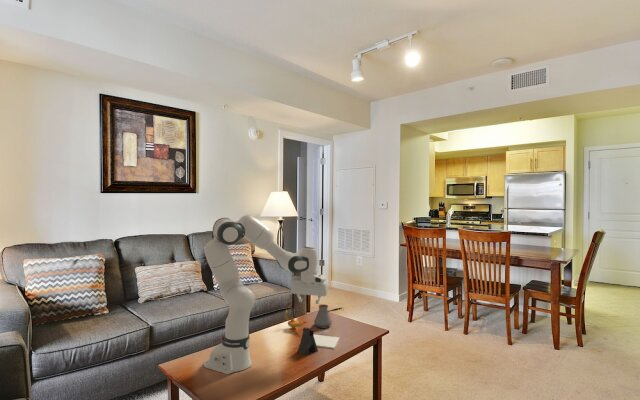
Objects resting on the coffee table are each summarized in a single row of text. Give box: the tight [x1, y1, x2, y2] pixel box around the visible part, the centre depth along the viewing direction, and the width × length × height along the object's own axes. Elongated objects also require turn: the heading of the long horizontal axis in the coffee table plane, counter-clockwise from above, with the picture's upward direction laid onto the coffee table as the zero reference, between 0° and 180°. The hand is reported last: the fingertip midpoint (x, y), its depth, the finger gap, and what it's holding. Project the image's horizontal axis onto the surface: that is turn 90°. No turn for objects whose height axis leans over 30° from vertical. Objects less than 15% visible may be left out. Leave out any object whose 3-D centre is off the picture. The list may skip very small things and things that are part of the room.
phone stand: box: [297, 326, 319, 356], centre depth 179 cm, size 9×6×12 cm, turn 127°
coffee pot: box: [313, 304, 344, 329], centre depth 213 cm, size 21×12×15 cm, turn 50°
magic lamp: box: [284, 309, 308, 332], centre depth 208 cm, size 7×18×11 cm, turn 54°
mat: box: [314, 333, 341, 350], centre depth 191 cm, size 20×14×1 cm
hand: (309, 302), depth 179 cm, fingers open, 8 cm apart
